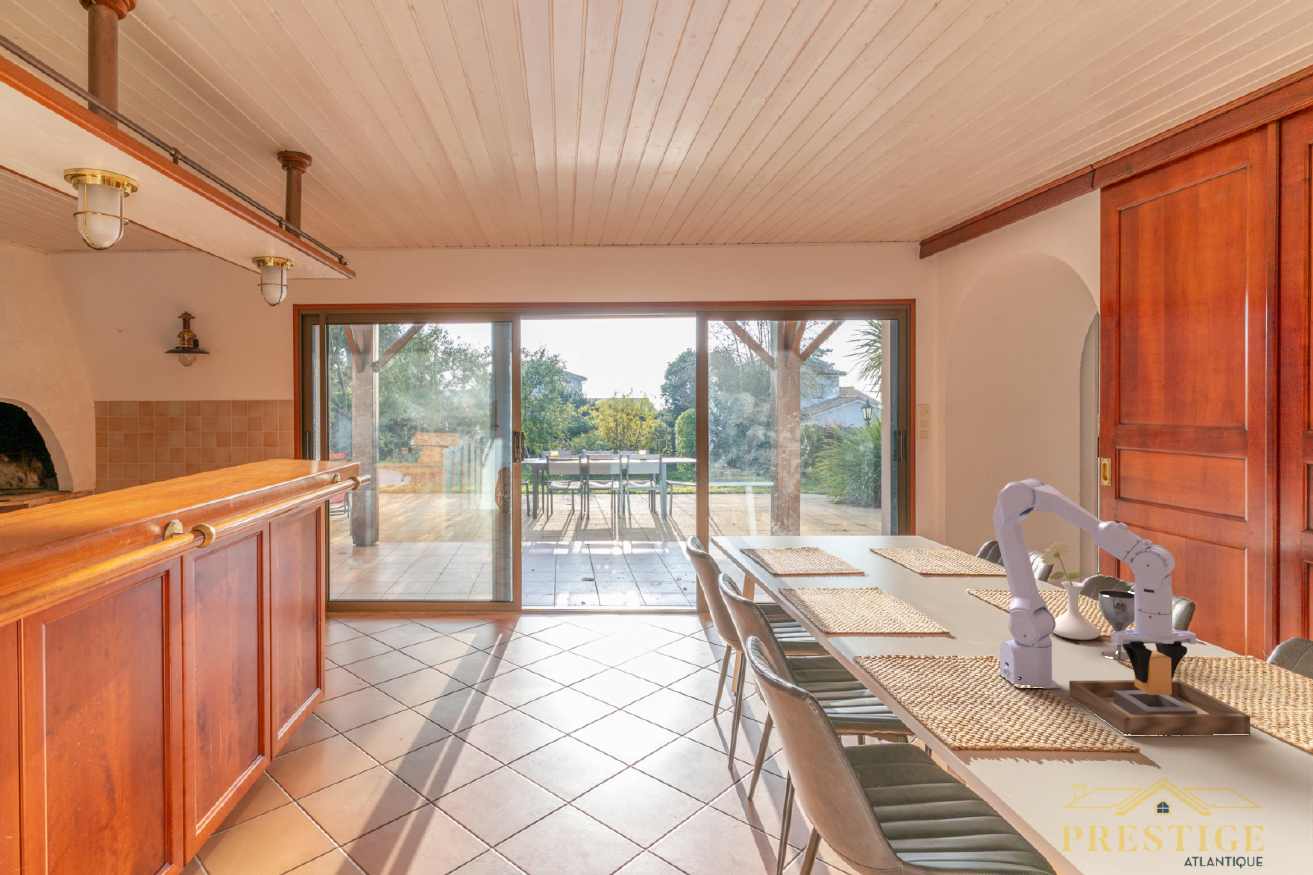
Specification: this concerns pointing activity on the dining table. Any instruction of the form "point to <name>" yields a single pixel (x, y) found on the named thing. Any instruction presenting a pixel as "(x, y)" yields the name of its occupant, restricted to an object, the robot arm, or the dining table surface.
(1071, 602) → the flower in vase
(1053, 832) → the dining table surface
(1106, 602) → the wine glass
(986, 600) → the dining table surface
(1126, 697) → the frame
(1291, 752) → the dining table surface
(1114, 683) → the walled box
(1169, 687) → the block
